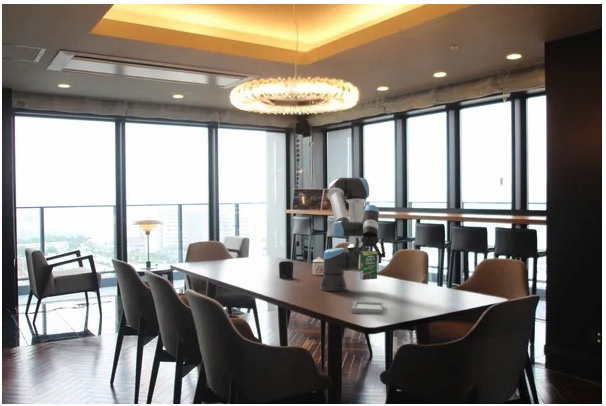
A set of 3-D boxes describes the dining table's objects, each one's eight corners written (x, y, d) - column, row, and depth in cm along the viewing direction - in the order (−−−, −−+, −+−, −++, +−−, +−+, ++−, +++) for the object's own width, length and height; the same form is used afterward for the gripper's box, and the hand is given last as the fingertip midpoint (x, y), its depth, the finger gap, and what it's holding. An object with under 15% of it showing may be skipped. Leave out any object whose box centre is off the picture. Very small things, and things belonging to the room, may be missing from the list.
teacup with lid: (316, 275, 346) (316, 258, 345) (309, 273, 354) (310, 256, 353) (331, 274, 351) (331, 257, 351) (325, 272, 359) (325, 255, 359)
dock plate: (351, 312, 237) (351, 308, 237) (354, 305, 253) (354, 301, 252) (382, 314, 234) (382, 309, 234) (383, 307, 250) (383, 302, 250)
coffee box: (362, 280, 240) (363, 251, 240) (359, 279, 243) (360, 251, 243) (377, 279, 244) (378, 251, 243) (374, 278, 246) (374, 250, 246)
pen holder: (275, 277, 336) (275, 262, 336) (286, 275, 343) (286, 260, 342) (286, 279, 329) (286, 263, 329) (296, 277, 336) (296, 262, 336)
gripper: (349, 225, 256) (346, 262, 240) (391, 226, 252) (390, 263, 237) (350, 235, 261) (346, 271, 246) (391, 236, 258) (390, 273, 242)
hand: (368, 267), depth 241 cm, fingers closed on coffee box, 8 cm apart
